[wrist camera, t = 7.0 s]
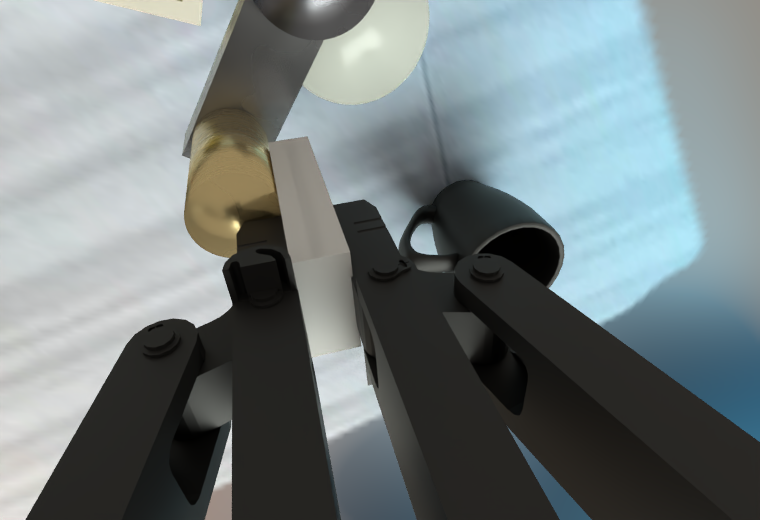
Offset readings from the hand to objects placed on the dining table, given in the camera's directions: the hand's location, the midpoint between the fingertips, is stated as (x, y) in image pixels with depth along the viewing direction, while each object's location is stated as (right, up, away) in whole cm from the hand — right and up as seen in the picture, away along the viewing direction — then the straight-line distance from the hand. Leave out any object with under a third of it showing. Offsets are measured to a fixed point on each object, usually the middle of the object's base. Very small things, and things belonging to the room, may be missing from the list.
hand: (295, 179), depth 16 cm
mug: (+8, +2, +26) cm, 27 cm away
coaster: (+1, +13, +16) cm, 20 cm away
